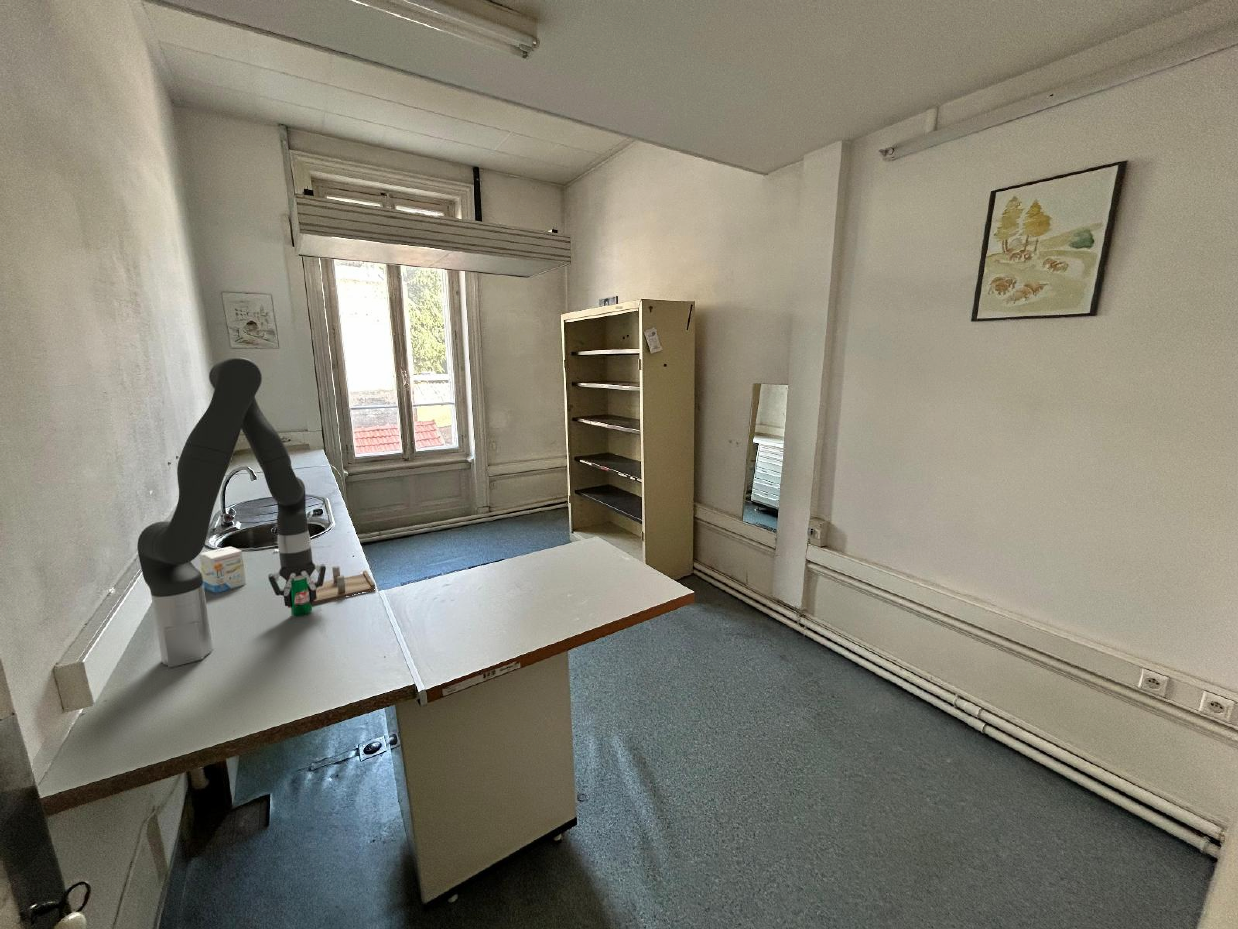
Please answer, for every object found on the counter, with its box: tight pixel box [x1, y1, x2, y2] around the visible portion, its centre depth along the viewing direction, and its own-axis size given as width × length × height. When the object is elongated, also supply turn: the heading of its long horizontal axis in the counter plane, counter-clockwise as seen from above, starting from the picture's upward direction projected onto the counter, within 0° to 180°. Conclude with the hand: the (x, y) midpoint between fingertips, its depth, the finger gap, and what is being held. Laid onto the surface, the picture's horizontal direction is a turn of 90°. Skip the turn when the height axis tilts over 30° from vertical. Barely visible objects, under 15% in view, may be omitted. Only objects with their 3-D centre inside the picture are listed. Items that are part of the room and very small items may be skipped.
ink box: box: [199, 546, 247, 594], centre depth 155 cm, size 9×8×12 cm
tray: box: [312, 565, 376, 606], centre depth 153 cm, size 14×18×6 cm
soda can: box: [289, 575, 313, 618], centre depth 138 cm, size 5×5×12 cm
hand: (301, 603), depth 138 cm, fingers closed on soda can, 5 cm apart
